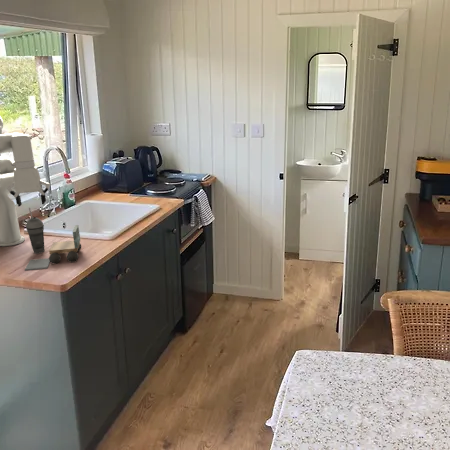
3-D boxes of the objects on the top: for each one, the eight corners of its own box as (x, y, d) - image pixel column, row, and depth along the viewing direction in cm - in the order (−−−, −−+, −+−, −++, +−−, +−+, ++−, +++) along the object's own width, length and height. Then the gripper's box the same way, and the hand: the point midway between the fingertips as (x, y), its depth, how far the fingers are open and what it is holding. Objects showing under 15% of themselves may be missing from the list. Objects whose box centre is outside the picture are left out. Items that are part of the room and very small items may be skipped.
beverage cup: (42, 255, 214) (34, 210, 208) (26, 254, 215) (19, 210, 209) (51, 249, 221) (44, 205, 214) (36, 248, 222) (29, 205, 216)
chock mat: (25, 270, 198) (24, 269, 198) (30, 261, 208) (30, 259, 207) (47, 268, 199) (47, 267, 199) (51, 259, 209) (51, 257, 209)
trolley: (49, 264, 203) (45, 235, 200) (55, 252, 216) (50, 225, 212) (78, 261, 205) (74, 233, 201) (82, 250, 217) (78, 223, 213)
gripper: (0, 168, 201) (8, 208, 206) (44, 164, 203) (51, 205, 209) (5, 164, 208) (12, 204, 213) (48, 161, 210) (54, 200, 216)
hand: (31, 204), depth 211 cm, fingers open, 9 cm apart
